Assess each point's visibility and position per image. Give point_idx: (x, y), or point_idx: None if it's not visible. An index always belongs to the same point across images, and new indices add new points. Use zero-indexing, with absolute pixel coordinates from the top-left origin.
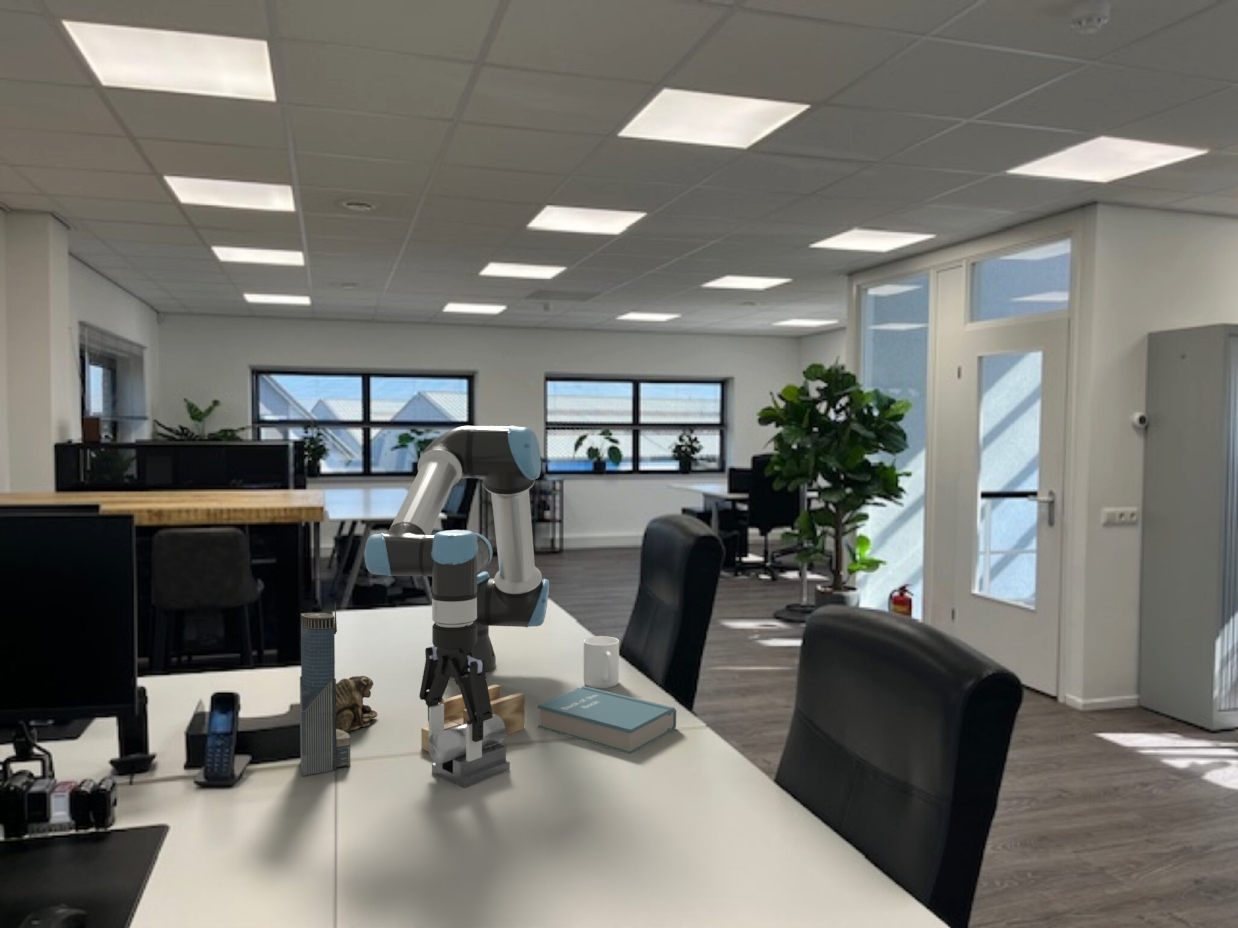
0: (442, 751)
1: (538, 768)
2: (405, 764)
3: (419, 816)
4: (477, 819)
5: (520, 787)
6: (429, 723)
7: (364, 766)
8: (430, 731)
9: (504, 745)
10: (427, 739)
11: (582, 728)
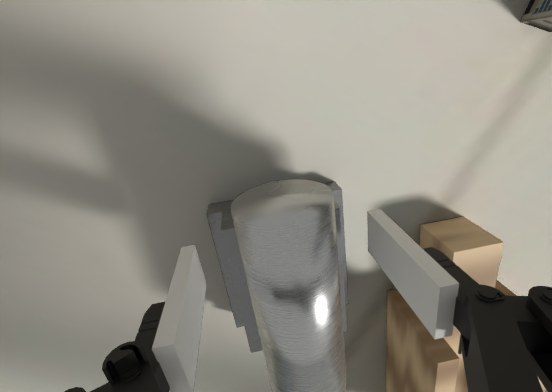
0: (249, 204)
1: (208, 353)
2: (418, 149)
3: (101, 32)
4: (11, 154)
5: (140, 297)
6: (411, 243)
7: (489, 56)
8: (390, 230)
9: (256, 350)
10: (460, 234)
11: None
